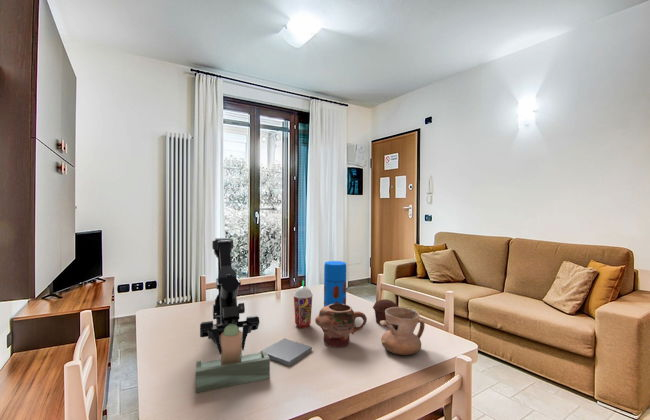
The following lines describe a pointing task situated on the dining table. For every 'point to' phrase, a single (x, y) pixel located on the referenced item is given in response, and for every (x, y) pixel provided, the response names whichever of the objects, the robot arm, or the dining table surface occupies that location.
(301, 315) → the smoothie
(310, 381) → the dining table surface
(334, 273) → the thermos
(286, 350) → the slate pad
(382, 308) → the muffin
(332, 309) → the decorative planter
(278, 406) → the dining table surface
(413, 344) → the ceramic jug
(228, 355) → the green ice cream cone
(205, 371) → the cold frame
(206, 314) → the dining table surface
